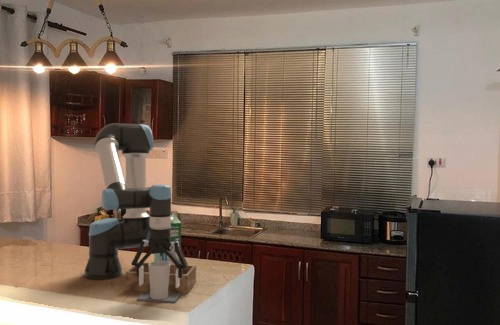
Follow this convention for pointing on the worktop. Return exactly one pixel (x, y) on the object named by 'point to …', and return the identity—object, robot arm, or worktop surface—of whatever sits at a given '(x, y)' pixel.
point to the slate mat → (170, 299)
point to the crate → (185, 281)
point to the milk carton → (174, 237)
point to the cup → (159, 279)
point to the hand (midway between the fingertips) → (159, 285)
